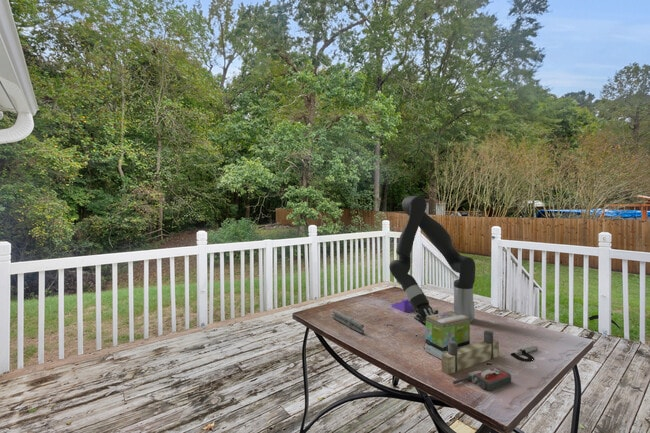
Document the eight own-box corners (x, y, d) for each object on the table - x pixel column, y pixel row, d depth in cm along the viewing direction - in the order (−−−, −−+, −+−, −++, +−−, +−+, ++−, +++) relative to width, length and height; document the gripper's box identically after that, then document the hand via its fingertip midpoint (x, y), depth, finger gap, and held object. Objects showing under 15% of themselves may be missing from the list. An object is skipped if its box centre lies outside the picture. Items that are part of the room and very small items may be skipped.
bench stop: (491, 353, 130) (491, 328, 130) (499, 356, 127) (499, 331, 127) (441, 370, 117) (441, 343, 117) (448, 374, 114) (448, 346, 114)
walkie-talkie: (492, 371, 117) (450, 385, 108) (492, 359, 116) (450, 372, 108) (515, 383, 109) (472, 399, 100) (515, 370, 108) (472, 385, 100)
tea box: (443, 361, 124) (443, 323, 123) (424, 351, 133) (424, 315, 132) (470, 352, 131) (470, 316, 130) (450, 343, 139) (450, 309, 139)
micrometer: (525, 364, 121) (525, 357, 121) (508, 356, 128) (508, 350, 128) (551, 356, 127) (551, 350, 127) (533, 349, 134) (533, 343, 134)
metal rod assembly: (332, 319, 173) (331, 309, 173) (336, 318, 175) (336, 308, 175) (360, 335, 151) (360, 324, 151) (365, 334, 152) (365, 323, 152)
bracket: (414, 310, 185) (414, 299, 184) (404, 312, 182) (404, 300, 181) (400, 305, 195) (400, 294, 195) (391, 306, 193) (391, 295, 192)
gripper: (409, 295, 141) (430, 332, 131) (431, 291, 147) (453, 326, 137) (401, 303, 146) (420, 340, 136) (423, 299, 152) (443, 334, 142)
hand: (437, 333), depth 136 cm, fingers closed
